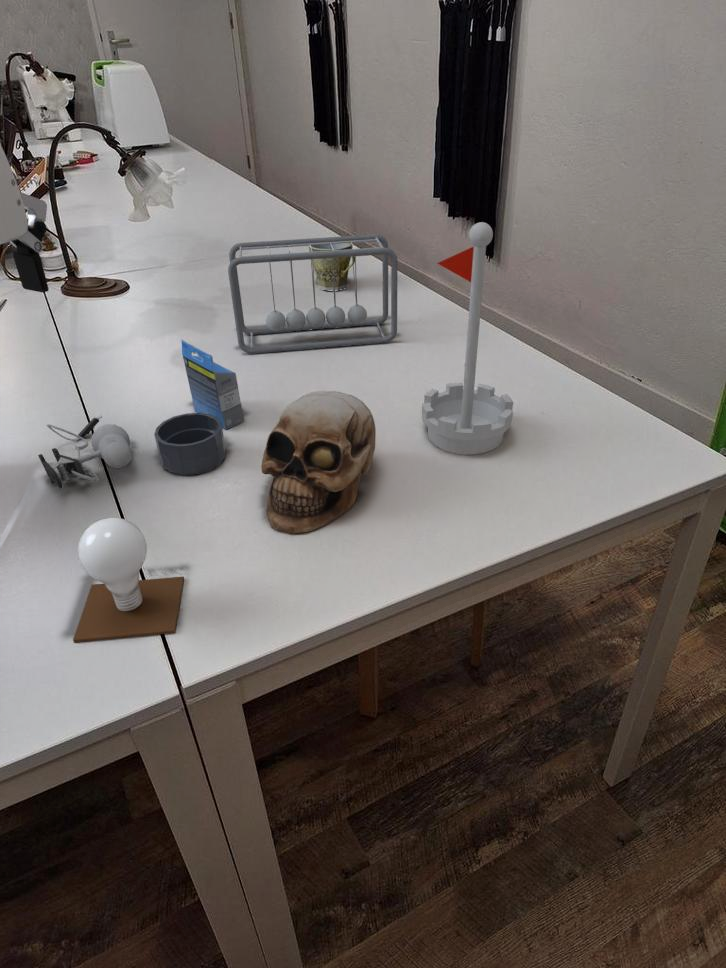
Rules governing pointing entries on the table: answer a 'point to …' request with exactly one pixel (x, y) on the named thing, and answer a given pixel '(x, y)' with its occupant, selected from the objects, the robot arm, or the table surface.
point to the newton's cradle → (314, 315)
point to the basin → (190, 443)
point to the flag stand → (468, 373)
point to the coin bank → (317, 459)
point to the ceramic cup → (325, 267)
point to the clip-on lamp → (106, 445)
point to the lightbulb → (115, 558)
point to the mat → (131, 612)
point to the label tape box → (212, 387)
